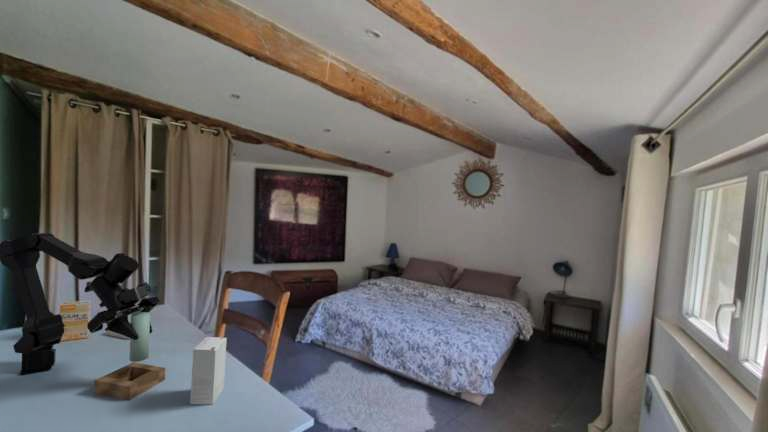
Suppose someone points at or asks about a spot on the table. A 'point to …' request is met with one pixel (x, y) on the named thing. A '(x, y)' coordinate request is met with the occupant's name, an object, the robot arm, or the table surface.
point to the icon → (116, 334)
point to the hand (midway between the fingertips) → (144, 335)
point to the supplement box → (75, 319)
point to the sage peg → (140, 336)
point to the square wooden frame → (125, 389)
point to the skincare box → (208, 370)
